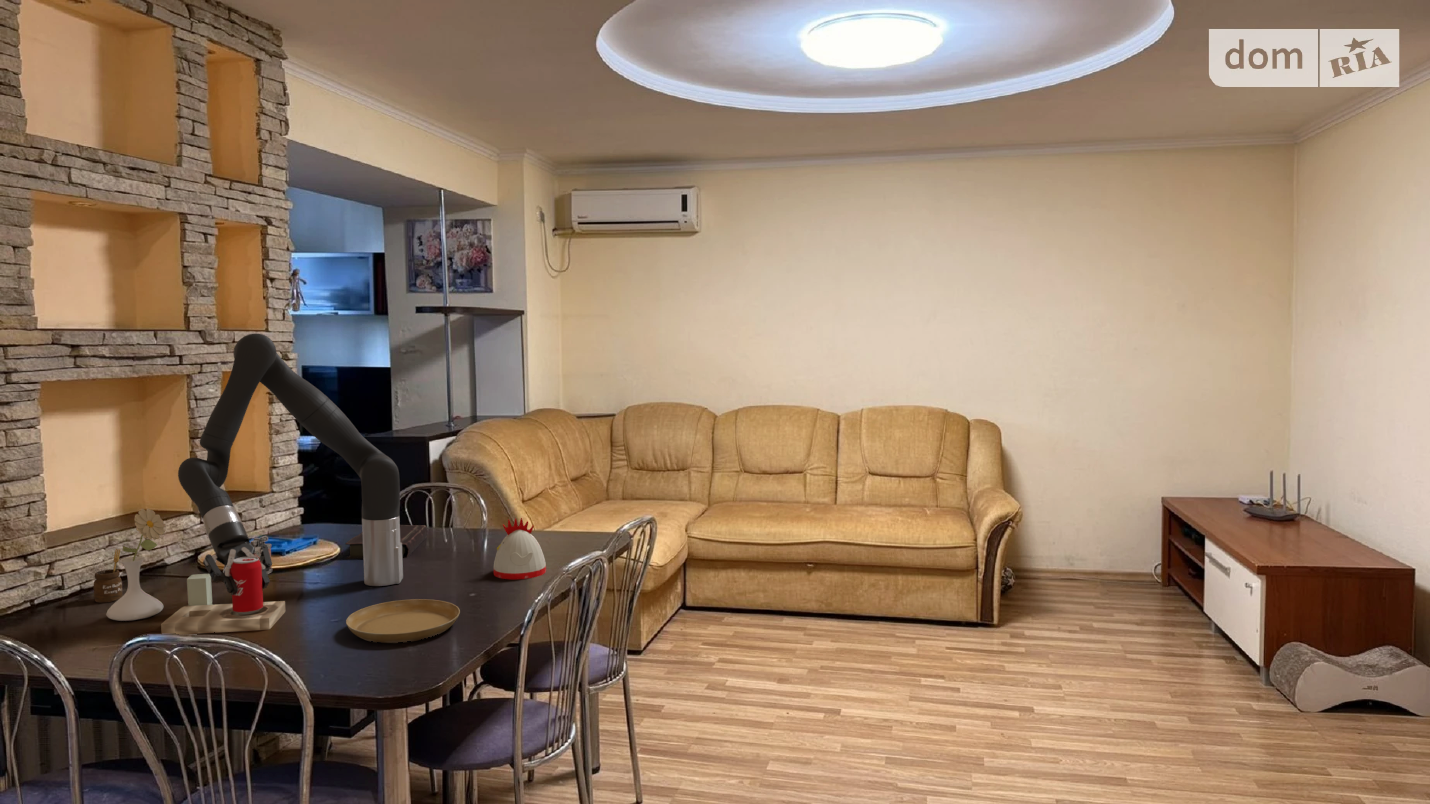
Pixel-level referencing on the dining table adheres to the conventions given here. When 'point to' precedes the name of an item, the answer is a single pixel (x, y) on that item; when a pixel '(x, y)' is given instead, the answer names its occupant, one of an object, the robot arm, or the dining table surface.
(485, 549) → the dining table surface
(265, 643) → the dining table surface
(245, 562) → the beverage can
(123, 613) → the flower in vase
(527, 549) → the kitchen timer
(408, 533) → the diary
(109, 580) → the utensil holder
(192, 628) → the socket board
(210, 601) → the square peg
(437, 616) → the plant saucer
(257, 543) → the lighter
